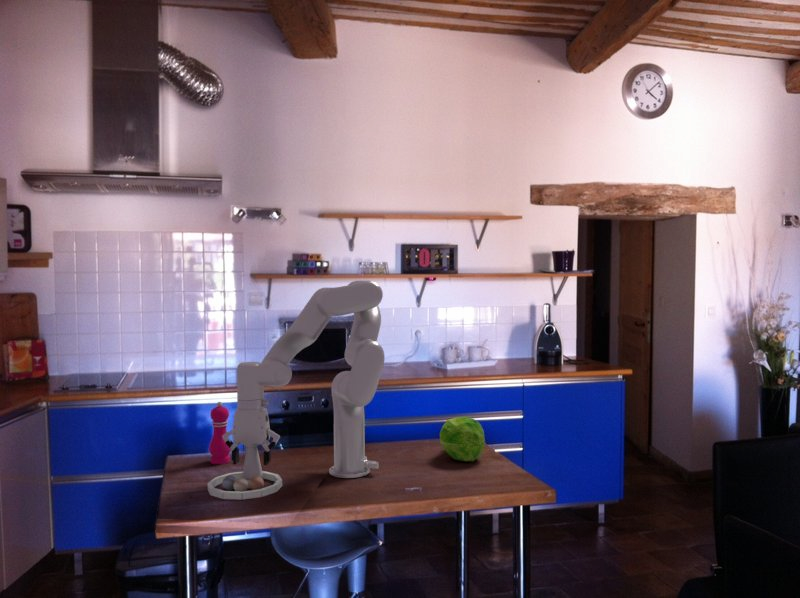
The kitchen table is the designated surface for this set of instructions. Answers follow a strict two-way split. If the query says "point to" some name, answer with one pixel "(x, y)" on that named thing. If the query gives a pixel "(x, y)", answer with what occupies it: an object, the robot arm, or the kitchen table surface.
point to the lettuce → (462, 438)
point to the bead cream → (240, 485)
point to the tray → (245, 493)
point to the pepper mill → (219, 435)
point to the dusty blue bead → (228, 482)
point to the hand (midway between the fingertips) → (251, 463)
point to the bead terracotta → (256, 483)
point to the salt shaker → (251, 462)
